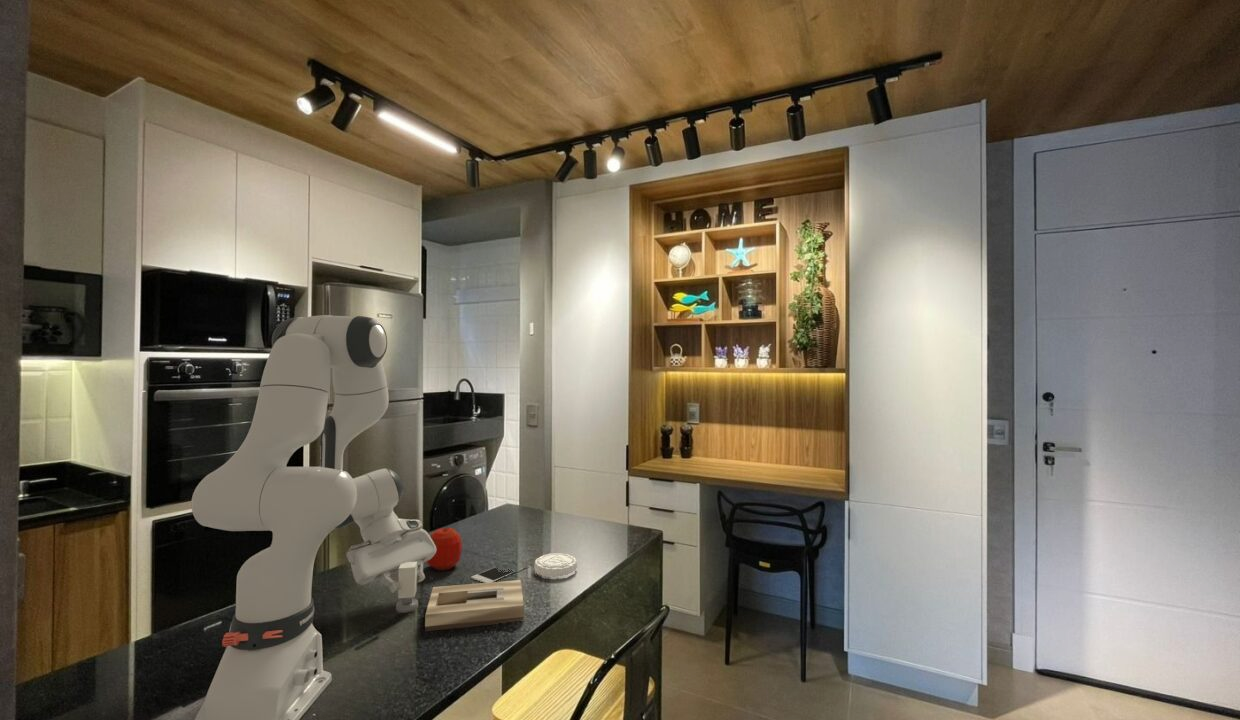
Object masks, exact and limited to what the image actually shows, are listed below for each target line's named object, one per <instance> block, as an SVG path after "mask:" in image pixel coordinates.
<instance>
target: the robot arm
mask: <svg viewBox="0 0 1240 720" xmlns="http://www.w3.org/2000/svg"><path fill="white" fill-rule="evenodd" d="M387 336H388V335H387V332H386V330H385V327H384V326H383V325H382V324H381V323H380V321H378V319H376V318H373V317H369V316H363V315H358V316H350V315H349V316H348V315H332V314H328V315H327V314H324V315H322V314H321V315H311V316H305V317H303V316H296V317H291V318H288V319H285V320H282V321H281V322H280V323H279V324H278V325H277V326H276V328H275V329H274V331H273V333H272V336H271V346H272V347H271V350H270V351H269V355H268V357H267V360H266V363H265V366H264V369H263V372H262V376H261V381H260V384H259V385H260V386H259V391H258V396H257V400H256V406H255V409H254V413H253V418H252V421H251V424H250V425H251V426H250V428H249V430H248V433H247V435H246V437H245V439H244V441H243V442H242V443H241V445H240V446H239V448H238V449H237V450H236V451H235V453H234V454H232V456H231V457H230V458H229V459H228V460H227V461H226V462H225V463H224V464H222V465H221V466H219V467H218V468H216V469H215V470H214V471H212V472H210V473H208V474H207V475H206V476H204V477H203V478H202V479H201V481H200V482H199V483H198V485H197V486H196V487H195V489H194V490H193V491H194V492H192V497H191V502H190V503H191V512H192V515H193V517H194V519H195V520H196V522H197V523H198V524H199V525H201V526H203V527H208V528H212V529H217V530H222V531H228V532H247V531H248V532H250V531H251V532H252V531H257V532H259V531H261V532H263V531H269V532H272V540H271V544H270V546H269V547H266V548H265V549H262V550H260V551H259V552H257V553H255V554H254V555H252V556H250V557H249V558H248V559H247V560H246V561H244V563H243V564H242V565H241V567H240V568H239V570H238V572H237V575H236V591H235V592H236V593H235V613H234V614H233V616H232V620H231V622H230V626H229V632H226V633H225V634H224V635H223V639H222V640H221V641H222V643H221V646H222V647H224V648H225V650H224V652H223V654H222V657H221V659H220V662H219V664H218V667H217V669H216V671H215V674H214V676H213V678H212V680H211V683H210V686H209V688H208V690H207V693H206V696H205V698H204V701H203V702H202V704H201V707H200V709H199V710H198V712H197V714H196V716H195V717H194V720H300V719H301V718H302V716H303V715H304V714H305V713H306V712H307V711H308V709H309V708H310V707H311V706H312V705H313V703H315V701H316V700H317V699H318V698H319V697H320V695H321V694H322V693H323V692H324V691H325V690H326V688H327V687H328V686H329V685H330V684H331V682H332V680H333V678H332V677H333V676H332V673H331V672H329V671H326V670H324V665H323V664H324V663H323V662H324V661H323V660H324V659H323V638H322V634H321V633H320V631H318V630H317V629H316V628H315V626H314V624H313V621H314V614H315V605H314V599H313V598H312V588H313V587H312V584H313V572H314V564H315V561H316V560H315V559H316V556H317V553H318V550H319V549H320V546H321V545H322V543H323V542H324V540H325V539H326V537H327V536H328V535H329V534H331V532H332V531H333V530H334V529H336V530H341V529H343V528H346V527H347V526H350V525H352V524H353V523H355V524H357V525H358V527H359V529H360V530H359V531H360V535H361V538H362V539H363V542H361V543H359V544H354V545H351V546H350V547H349V548H348V549H347V550H346V554H345V555H346V557H347V561H348V563H350V567H351V572H352V576H353V578H354V581H355V583H357V584H358V585H360V586H363V585H367V584H369V583H373V582H374V581H377V580H379V581H380V583H381V584H382V585H384V586H385V587H387V588H389V590H390V592H391V594H394V593H396V592H398V590H399V589H400V588H401V586H400V585H399V582H398V580H397V581H395V580H393V579H392V578H391V575H393V574H395V573H399V567H400V565H401V564H404V563H406V562H417V584H418V583H420V582H423V581H424V580H425V579H426V576H425V573H424V563H425V562H427V561H428V560H430V559H431V558H432V557H433V556H434V555H435V554H436V546H435V544H434V542H433V540H432V539H431V537H430V535H431V534H429V533H428V531H427V530H425V528H424V529H423V528H422V527H423V523H422V521H421V520H420V519H408V518H407V519H406V518H399V517H398V515H397V514H396V513H395V512H394V508H395V507H397V505H398V504H399V502H400V501H401V499H402V497H403V495H404V492H405V488H404V484H403V482H402V481H401V480H402V479H401V478H400V476H399V475H398V473H397V472H395V471H394V470H392V469H390V468H387V467H385V468H380V469H376V470H373V471H369V472H368V473H365V474H363V475H360V476H356V477H354V478H353V477H352V475H351V474H350V473H349V472H348V471H345V470H343V469H344V453H345V450H346V448H347V446H348V445H349V444H350V443H351V441H353V440H354V439H355V438H356V437H357V436H359V435H360V434H361V433H363V432H364V431H366V430H367V429H369V428H370V427H372V426H374V425H375V424H376V423H377V422H379V421H380V420H381V419H382V418H383V416H384V415H385V413H386V412H387V410H388V407H389V403H390V402H389V399H390V395H389V388H388V382H387V380H388V379H387V376H386V372H385V371H386V370H385V368H384V364H383V360H382V359H383V358H384V356H385V354H386V352H387V348H388V337H387ZM331 369H332V370H331ZM331 376H332V387H333V393H334V401H333V407H332V410H331V411H330V413H329V416H327V417H326V415H327V410H328V402H329V395H330V389H331ZM319 437H320V440H319V441H320V442H319V462H318V463H319V464H318V466H287V464H288V462H289V460H290V458H291V457H292V456H293V455H294V453H295V452H296V451H297V450H298V449H300V448H301V447H304V446H307V445H309V444H311V443H313V442H314V441H316V440H317V439H318V438H319Z"/></svg>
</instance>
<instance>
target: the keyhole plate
mask: <svg viewBox="0 0 1240 720" xmlns="http://www.w3.org/2000/svg"><path fill="white" fill-rule="evenodd" d="M523 597H524V596H523V589H522V580H520V579H516V580H506V581H504V580H503V581H497V582H490V583H481V582H479V583H467V584H456V585H445V586H444V585H443V586H441V585H440V586H433V587H432V590H431V593H430V596H429V601H428V604H427V607H426V612H425V616H424V617H425V618H424V620H425V621H424V632H433V631H439V630H440V631H441V630H451V629H460V628H470V627H479V626H481V627H482V626H490V625H491V626H492V625H499V623H502V624H506V623H505V622H511V623H513V622H512V621H521V620H523V621H524V617H525V616H524V614H525V613H524V609H525V604H524V598H523ZM521 622H522V621H521Z"/></svg>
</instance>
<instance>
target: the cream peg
mask: <svg viewBox="0 0 1240 720" xmlns="http://www.w3.org/2000/svg"><path fill="white" fill-rule="evenodd" d="M397 579H398V580H397V581H398V582H399V585H400V586H401V588H400V589H399V590H398V591H397V599H401V600H399V601H398V602H396V604H395V611H396V612H397V613H398V614H409V613H411V612H415V611H416V610H417V609H418V607H419V600H418V599H417V598H415V596H416V593H417V591H418V590H417V588H418V583H417V562H406V563H404V564H401V565H400V567H399V572H398V578H397Z"/></svg>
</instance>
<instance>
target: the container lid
mask: <svg viewBox="0 0 1240 720" xmlns="http://www.w3.org/2000/svg"><path fill="white" fill-rule="evenodd" d="M533 564H534V566H533V567H534V569H535V572H537V574H540V575H542V576H546V577H550V576H552V577H556V576H563V575H568V574H569V573H572V572H573V571H575V570H576V568H577V569H578V561H577V558H575V557H574V556H573V555H570V554H568V553H563V552H560V553H557V552H556V553H553V552H552V553H550V552H549V553H547V554H543V555H541V556H539V557H537V558H536V559H535V561H534V563H533ZM534 569H533V570H534ZM535 572H534V573H535Z"/></svg>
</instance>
